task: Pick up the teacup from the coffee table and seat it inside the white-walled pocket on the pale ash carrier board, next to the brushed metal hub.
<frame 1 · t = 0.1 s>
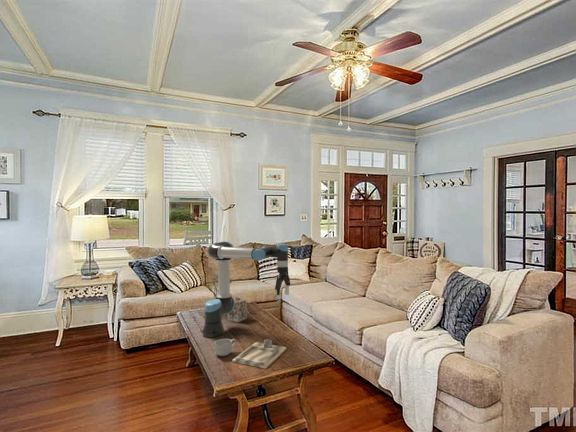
hand: (283, 296, 229), 28 cm above the table, tool pointing down, fingers open, 13 cm apart
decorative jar: (237, 319, 268), on the table
teacup: (225, 353, 204), on the table
geometric lantern: (222, 314, 282), on the table
carrier board: (260, 355, 201), on the table
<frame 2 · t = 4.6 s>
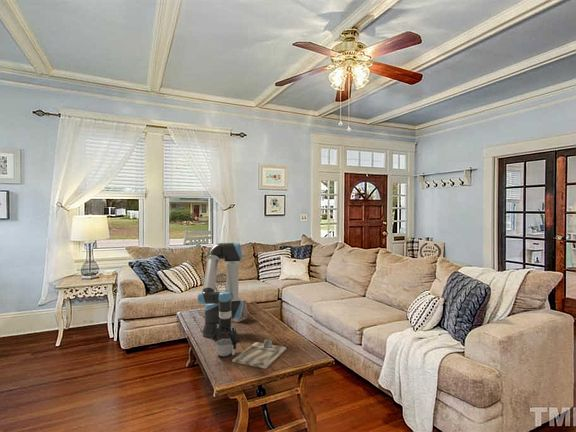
hand: (225, 352, 204), 0 cm above the table, tool pointing down, fingers closed on teacup, 11 cm apart
teacup: (226, 354, 204), on the table, touching gripper
everything else where it was.
when the fingers open (3 cm above the table, at t = 10.9 s): teacup drops 2 cm, resting on carrier board.
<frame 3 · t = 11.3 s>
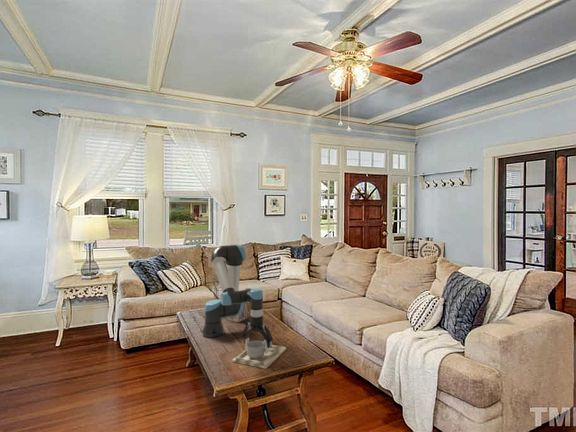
hand: (257, 350, 197), 4 cm above the table, tool pointing down, fingers open, 13 cm apart
teacup: (258, 356, 197), point 1 cm above the table, touching carrier board
everything else where it was.
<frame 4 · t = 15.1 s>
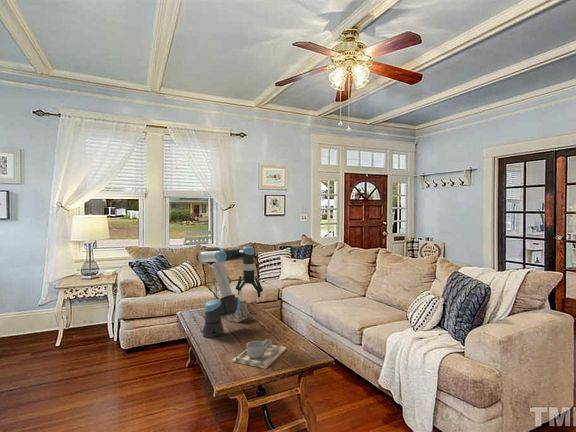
hand: (249, 300, 224), 27 cm above the table, tool pointing down, fingers open, 13 cm apart
nothing on the table moved.
at the end: teacup 0.8 cm from the target spot on the carrier board, point 1.0 cm above the carrier board's base; teacup tilted 0°; the gripper is holding nothing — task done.
